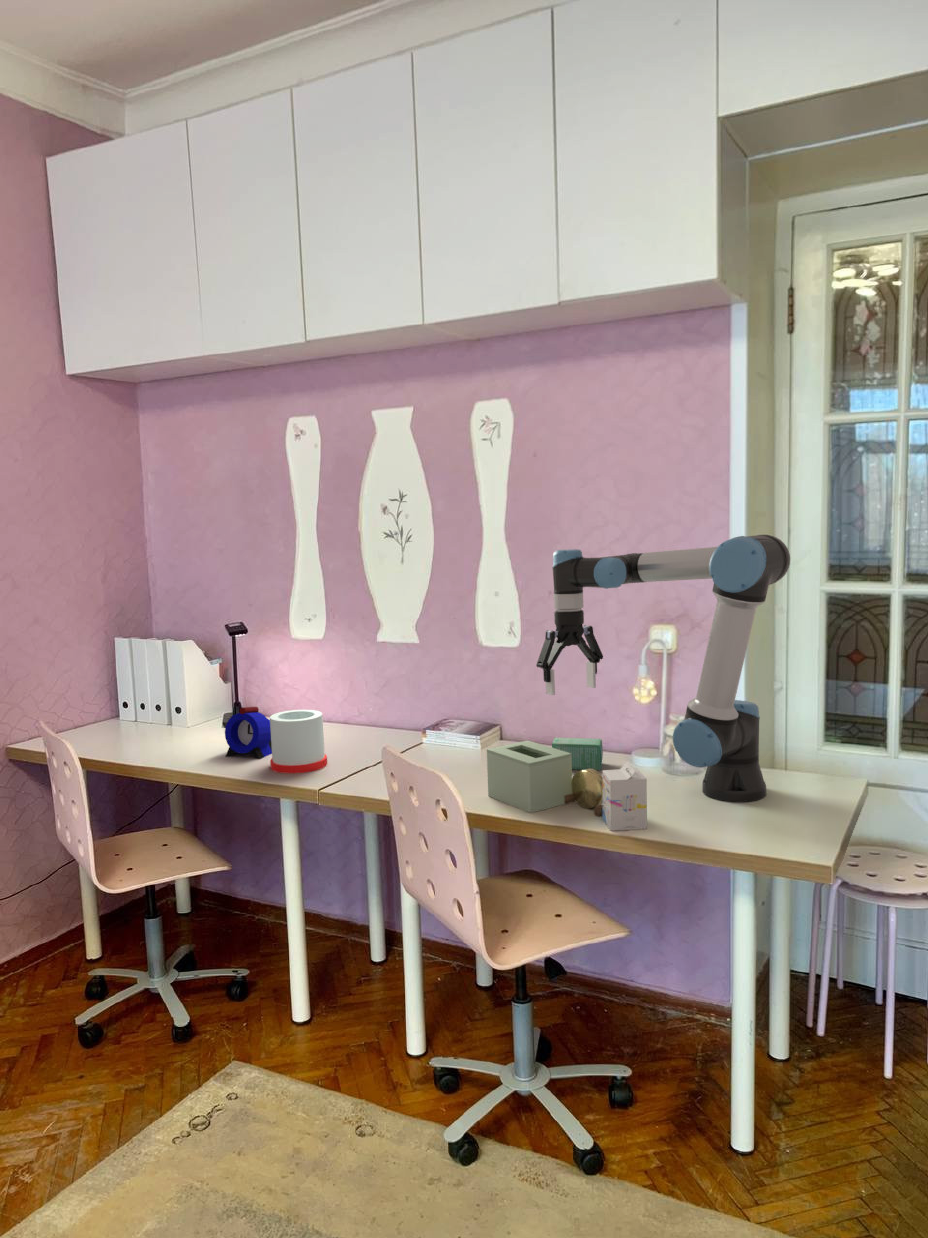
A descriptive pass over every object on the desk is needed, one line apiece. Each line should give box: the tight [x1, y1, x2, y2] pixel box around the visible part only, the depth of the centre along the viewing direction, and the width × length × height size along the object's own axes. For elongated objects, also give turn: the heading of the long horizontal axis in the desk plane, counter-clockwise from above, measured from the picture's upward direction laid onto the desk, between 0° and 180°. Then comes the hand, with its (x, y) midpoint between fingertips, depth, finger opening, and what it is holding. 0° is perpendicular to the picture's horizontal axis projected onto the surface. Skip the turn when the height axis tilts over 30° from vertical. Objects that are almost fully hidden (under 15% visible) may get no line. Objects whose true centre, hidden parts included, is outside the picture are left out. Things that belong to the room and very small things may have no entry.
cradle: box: [564, 792, 603, 818], centre depth 227 cm, size 14×6×2 cm, turn 35°
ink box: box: [602, 761, 648, 832], centre depth 214 cm, size 9×8×13 cm
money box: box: [486, 740, 573, 814], centre depth 234 cm, size 17×13×12 cm
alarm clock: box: [224, 706, 272, 760], centre depth 286 cm, size 12×12×15 cm
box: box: [551, 737, 604, 771], centre depth 261 cm, size 7×14×8 cm, turn 79°
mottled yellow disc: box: [571, 769, 603, 810], centre depth 226 cm, size 3×9×9 cm, turn 35°
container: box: [269, 709, 328, 774], centre depth 271 cm, size 16×16×15 cm
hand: (571, 690), depth 247 cm, fingers open, 13 cm apart
